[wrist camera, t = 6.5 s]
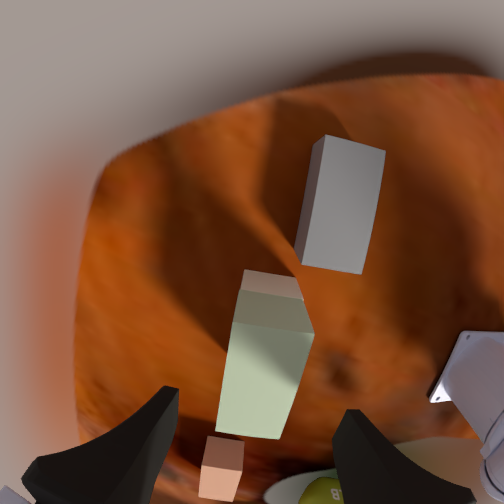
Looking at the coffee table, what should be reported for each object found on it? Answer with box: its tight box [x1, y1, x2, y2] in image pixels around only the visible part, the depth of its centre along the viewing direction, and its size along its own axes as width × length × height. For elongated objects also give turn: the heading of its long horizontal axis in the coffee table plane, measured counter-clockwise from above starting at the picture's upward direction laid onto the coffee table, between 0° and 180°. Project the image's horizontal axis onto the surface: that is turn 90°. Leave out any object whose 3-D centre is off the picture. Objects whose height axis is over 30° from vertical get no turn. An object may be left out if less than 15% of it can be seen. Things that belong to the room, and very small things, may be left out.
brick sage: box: [215, 289, 315, 439], centre depth 15 cm, size 4×7×4 cm, turn 170°
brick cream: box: [241, 269, 303, 299], centre depth 18 cm, size 4×7×4 cm, turn 171°
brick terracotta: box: [199, 436, 244, 502], centre depth 22 cm, size 4×7×4 cm, turn 171°
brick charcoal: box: [294, 135, 386, 274], centre depth 17 cm, size 4×7×4 cm, turn 170°
